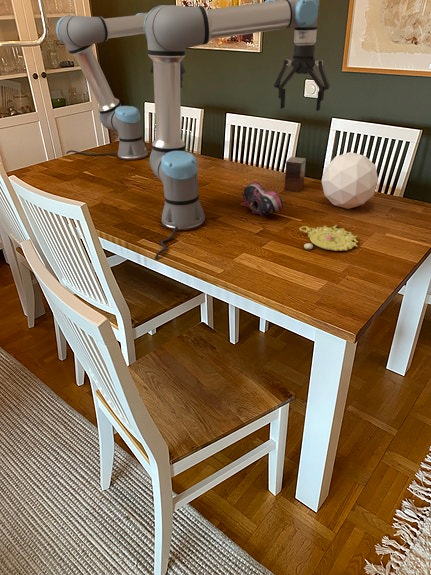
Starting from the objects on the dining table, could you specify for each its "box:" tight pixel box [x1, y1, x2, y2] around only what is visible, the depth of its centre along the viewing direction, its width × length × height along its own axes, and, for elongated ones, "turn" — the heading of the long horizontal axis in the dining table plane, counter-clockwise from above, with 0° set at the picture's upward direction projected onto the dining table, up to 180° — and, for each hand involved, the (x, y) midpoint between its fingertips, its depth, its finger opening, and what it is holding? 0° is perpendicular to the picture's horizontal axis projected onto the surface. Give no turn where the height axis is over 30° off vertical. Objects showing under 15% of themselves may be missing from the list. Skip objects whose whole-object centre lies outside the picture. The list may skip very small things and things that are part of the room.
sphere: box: [320, 151, 379, 210], centre depth 160 cm, size 19×20×20 cm
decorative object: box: [299, 224, 359, 252], centre depth 141 cm, size 21×2×20 cm
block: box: [284, 156, 307, 193], centre depth 178 cm, size 6×6×12 cm
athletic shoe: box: [238, 182, 284, 217], centre depth 160 cm, size 11×22×12 cm
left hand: (169, 87), depth 239 cm, fingers open, 13 cm apart
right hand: (300, 109), depth 165 cm, fingers open, 13 cm apart
